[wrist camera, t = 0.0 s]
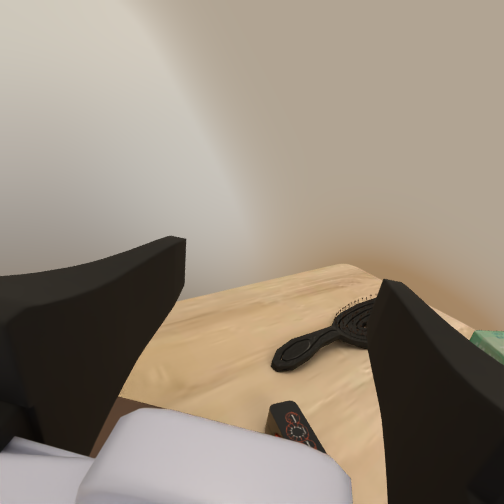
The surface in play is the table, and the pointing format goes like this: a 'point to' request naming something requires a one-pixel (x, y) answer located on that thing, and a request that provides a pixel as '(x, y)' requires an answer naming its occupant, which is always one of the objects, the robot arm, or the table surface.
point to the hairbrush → (326, 337)
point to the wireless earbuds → (291, 425)
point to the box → (490, 343)
